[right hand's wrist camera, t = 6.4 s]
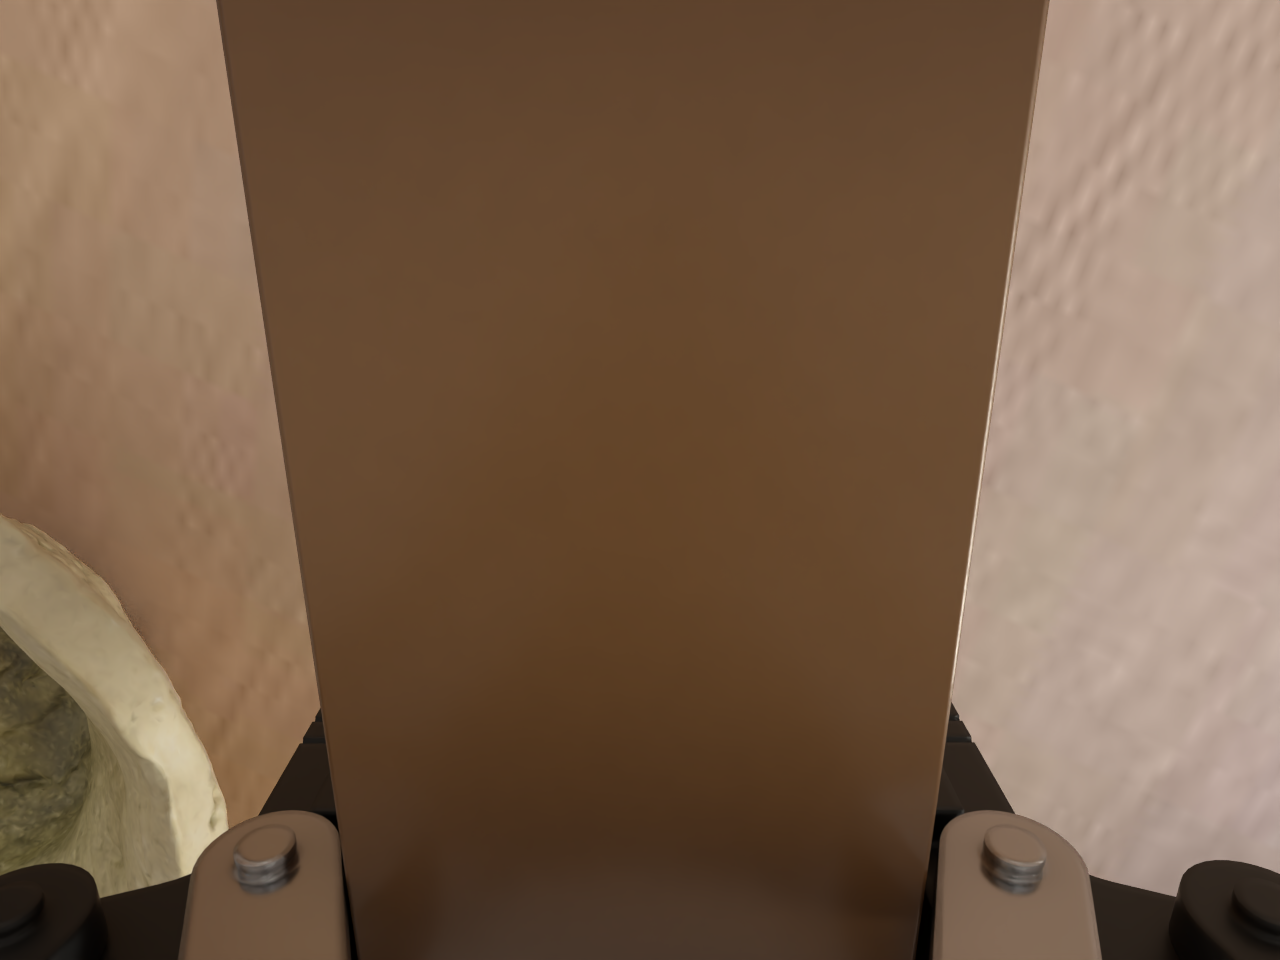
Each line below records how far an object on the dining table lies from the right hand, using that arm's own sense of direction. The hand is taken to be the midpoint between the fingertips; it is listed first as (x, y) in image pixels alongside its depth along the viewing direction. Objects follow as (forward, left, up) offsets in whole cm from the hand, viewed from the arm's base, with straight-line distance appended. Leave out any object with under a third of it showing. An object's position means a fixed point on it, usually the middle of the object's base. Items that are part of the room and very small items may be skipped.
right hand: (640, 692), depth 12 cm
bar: (+9, 0, -3) cm, 10 cm away
